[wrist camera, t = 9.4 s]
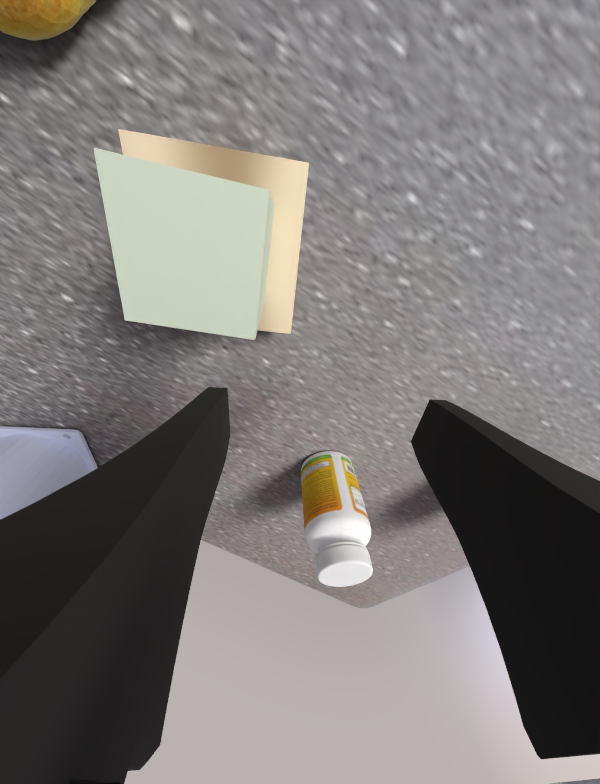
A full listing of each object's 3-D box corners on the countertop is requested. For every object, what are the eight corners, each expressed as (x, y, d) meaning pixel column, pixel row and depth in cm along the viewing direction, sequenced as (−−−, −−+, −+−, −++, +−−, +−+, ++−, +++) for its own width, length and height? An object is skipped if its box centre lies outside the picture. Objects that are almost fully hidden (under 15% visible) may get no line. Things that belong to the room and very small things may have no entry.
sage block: (182, 287, 14) (124, 320, 9) (176, 183, 12) (93, 147, 6) (264, 301, 15) (255, 340, 10) (274, 206, 12) (269, 189, 7)
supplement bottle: (294, 481, 27) (298, 589, 19) (308, 445, 24) (321, 554, 16) (341, 487, 28) (364, 593, 20) (360, 453, 25) (396, 560, 17)
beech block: (172, 306, 17) (153, 320, 15) (150, 148, 13) (118, 129, 11) (289, 319, 18) (290, 333, 16) (304, 174, 14) (308, 162, 11)
